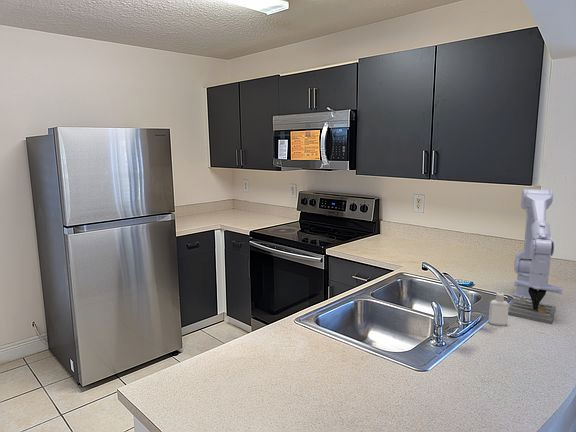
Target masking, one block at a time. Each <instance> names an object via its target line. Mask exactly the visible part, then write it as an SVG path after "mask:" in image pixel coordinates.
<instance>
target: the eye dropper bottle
mask: <svg viewBox="0 0 576 432" xmlns="http://www.w3.org/2000/svg"><path fill="white" fill-rule="evenodd" d="M502 290H503V289H499V290H498V292H496V293H495V299H492V300H491V301H490V302H489V309H488V323H489V324H490V325H493V326H494V325H495V326H507V325H508V317H509V315H508V308H509V306H510V304H509V303H508V302H507V301H506V300H505V294H504V293H503V291H502Z"/></svg>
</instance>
